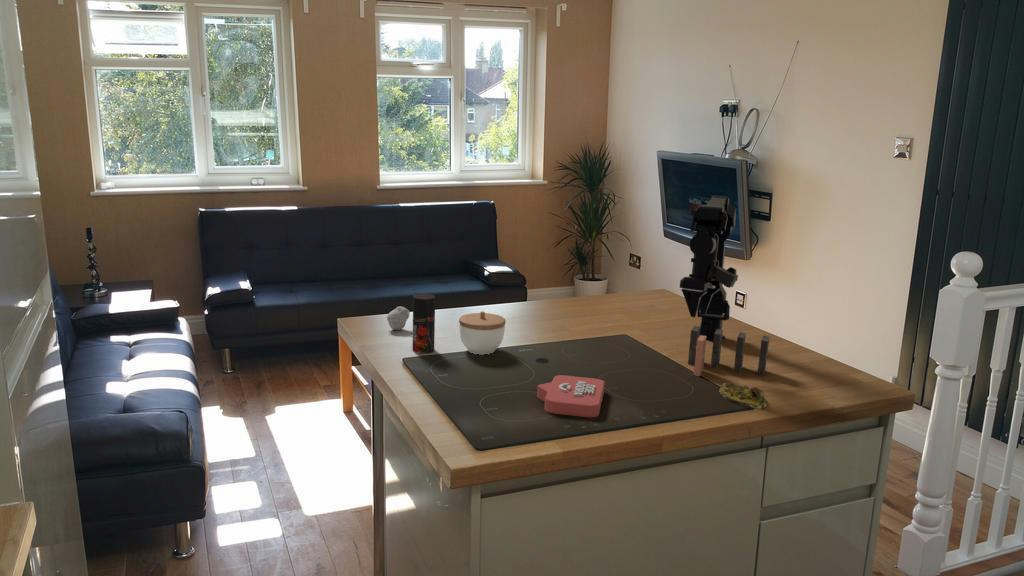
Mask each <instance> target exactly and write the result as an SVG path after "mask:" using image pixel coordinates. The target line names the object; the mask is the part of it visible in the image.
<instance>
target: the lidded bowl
mask: <svg viewBox="0 0 1024 576" xmlns="http://www.w3.org/2000/svg"><path fill="white" fill-rule="evenodd" d="M506 322H507V321H506V319H505V318H504V317H503V316H501V315H499V314H494V313H487V312H485V311H480V312H474V313H473V312H472V313H467V314H463V315H461V316H460V317H459V318H458V323H459V337H460V340H461V343H462V344H463V346H464V347H465V348H466V349H467V350H468V353H471V354H472V353H473V355H477V354H479V355H478V356H485V355H484V354H488V355H491V354H490V353H492V354H493V352H494V353H495V351H496V350H497V349H498V348H499V347H500V346H501V344H502V342H503V340H504V336H505V328H506Z"/></svg>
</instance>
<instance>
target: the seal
mask: <svg viewBox="0 0 1024 576" xmlns="http://www.w3.org/2000/svg"><path fill="white" fill-rule="evenodd" d="M719 392H720V394H721V395H722V396H723V397H722V396H721V395H720V394H719V395H720V396H721V397H722V398H724V397H725V398H726V399H725V398H724V399H725V400H727V399H729V400H730V401H729V400H728V401H729V402H731V401H733V402H736V403H739V404H742V405H746V406H750V407H751V408H752V409H758V410H764V409H766V407H767V406H768V401H767V399H766V398H765V391H763V390H762V389H759V388H758V387H756V386H751V387H749V386H747V385H737V384H734V383H730V382H724V383H722V385H721V386H720V387H719V390H718V393H719ZM733 402H732V403H733ZM736 403H735V404H736ZM742 405H741V406H742ZM746 406H745V407H746ZM750 407H749V408H750Z"/></svg>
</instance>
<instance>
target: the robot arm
mask: <svg viewBox="0 0 1024 576" xmlns="http://www.w3.org/2000/svg"><path fill="white" fill-rule="evenodd" d="M736 209H737V208H736V207H734V206H733V204H731V203H730V197H727V196H724V195H712V196H710V197H709V201H708V202H707V204H699V205H698V206H697V208H696V209H694V211H693V215H692V217H693V218H692V221H691V225H690V226H691V227H690V232H695V234H694V235H693V236H692V238H691V239H690V241H689V248H690V251H691V253H692V254H693V257H691V258H690V263H692V269H691V273H689V275H688V276H684V277H683V278H681V279H680V281H679V289H680V288H681V289H680V291H681V292H682V294H683V297H684V299H685V303H686V306H687V309H688V312H689V315H690V317H691V318H696V316H697V318H701V322H700V335H702V336H707V337H706V340H709V341H712V342H713V339H714V333H715V331H716V330H717V329H721V330H723V329H722V328H723V321H724V322H725V321H727V320H730V315H731V314H730V311H731V310H730V309H731V307H730V305H729V300H727V291H726V290H725V288H724V287H726V288H728V289H730V288H733V287H734V286H735V283H736V282H737V281H738V278H739V275H738V274H737V269H736V268H734V267H728V268H727V269H726V268H725V267H724V266H725V265H724V263H725V253H726V242H727V239H728V238H729V237H730V236H731V235H732V234H731V233H732V231H733V228H735V226H736V222H737V221H736V220H737V219H736V218H737V217H736V216H737V214H736V213H737V211H736ZM700 335H699V337H700ZM722 339H726V335H723V334H722Z"/></svg>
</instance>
